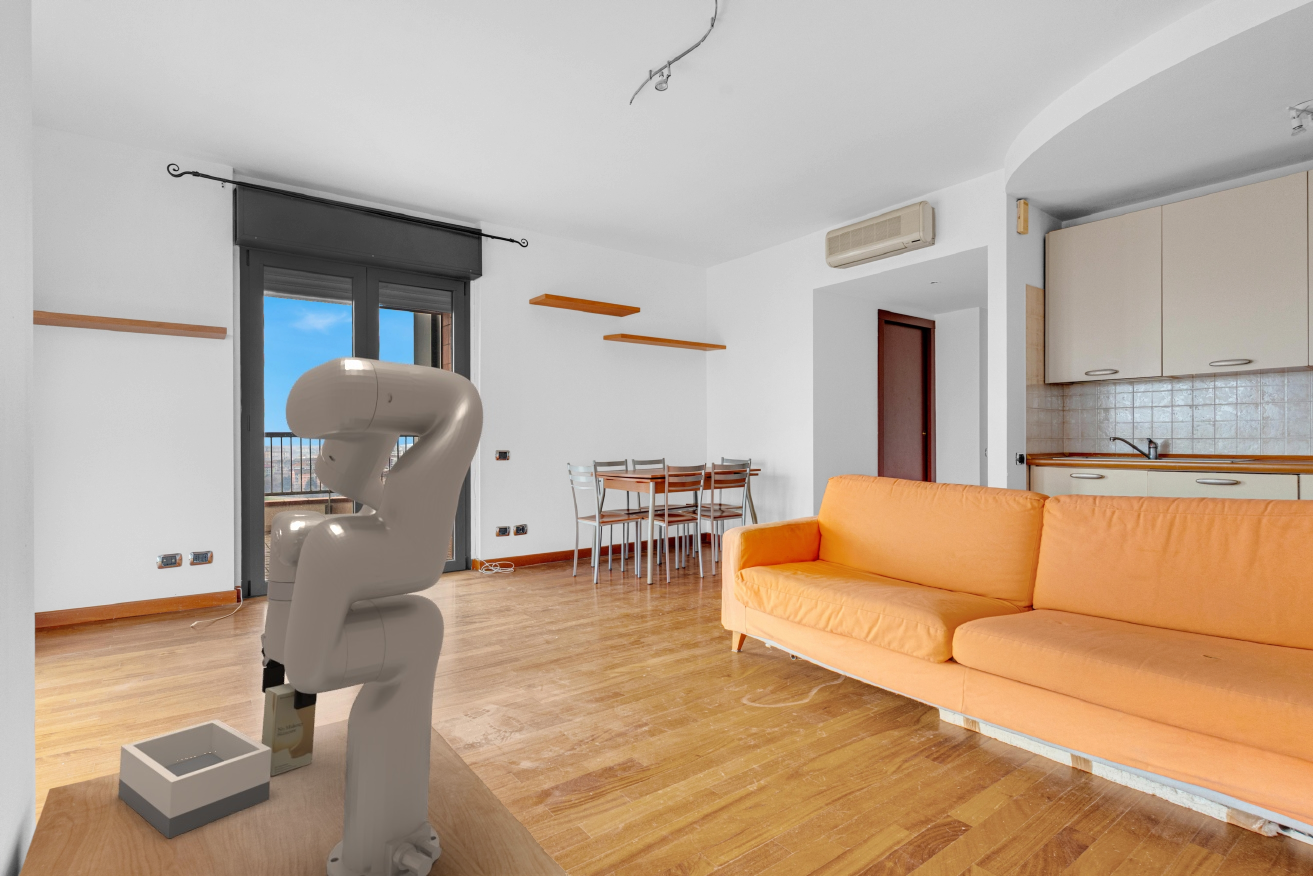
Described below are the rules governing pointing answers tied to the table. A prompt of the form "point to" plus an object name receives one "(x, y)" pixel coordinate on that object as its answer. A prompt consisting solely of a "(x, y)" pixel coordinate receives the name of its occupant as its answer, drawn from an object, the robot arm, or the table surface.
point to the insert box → (193, 776)
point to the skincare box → (287, 730)
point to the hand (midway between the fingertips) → (288, 698)
